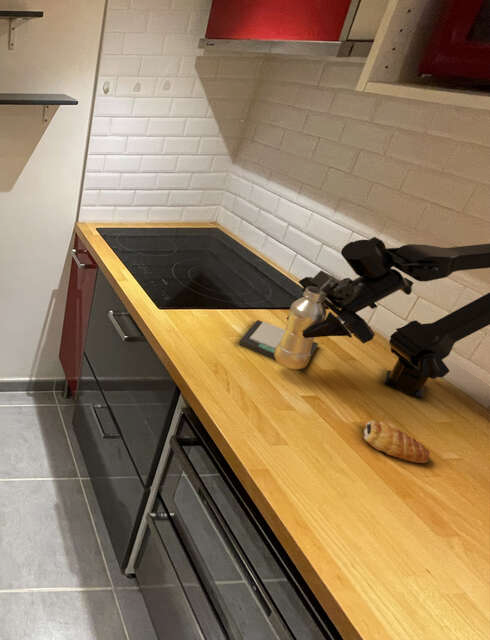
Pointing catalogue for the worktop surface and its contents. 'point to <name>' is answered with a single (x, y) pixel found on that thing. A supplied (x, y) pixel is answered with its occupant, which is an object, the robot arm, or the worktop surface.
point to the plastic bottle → (301, 329)
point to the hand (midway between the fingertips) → (295, 327)
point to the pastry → (395, 442)
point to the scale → (266, 339)
